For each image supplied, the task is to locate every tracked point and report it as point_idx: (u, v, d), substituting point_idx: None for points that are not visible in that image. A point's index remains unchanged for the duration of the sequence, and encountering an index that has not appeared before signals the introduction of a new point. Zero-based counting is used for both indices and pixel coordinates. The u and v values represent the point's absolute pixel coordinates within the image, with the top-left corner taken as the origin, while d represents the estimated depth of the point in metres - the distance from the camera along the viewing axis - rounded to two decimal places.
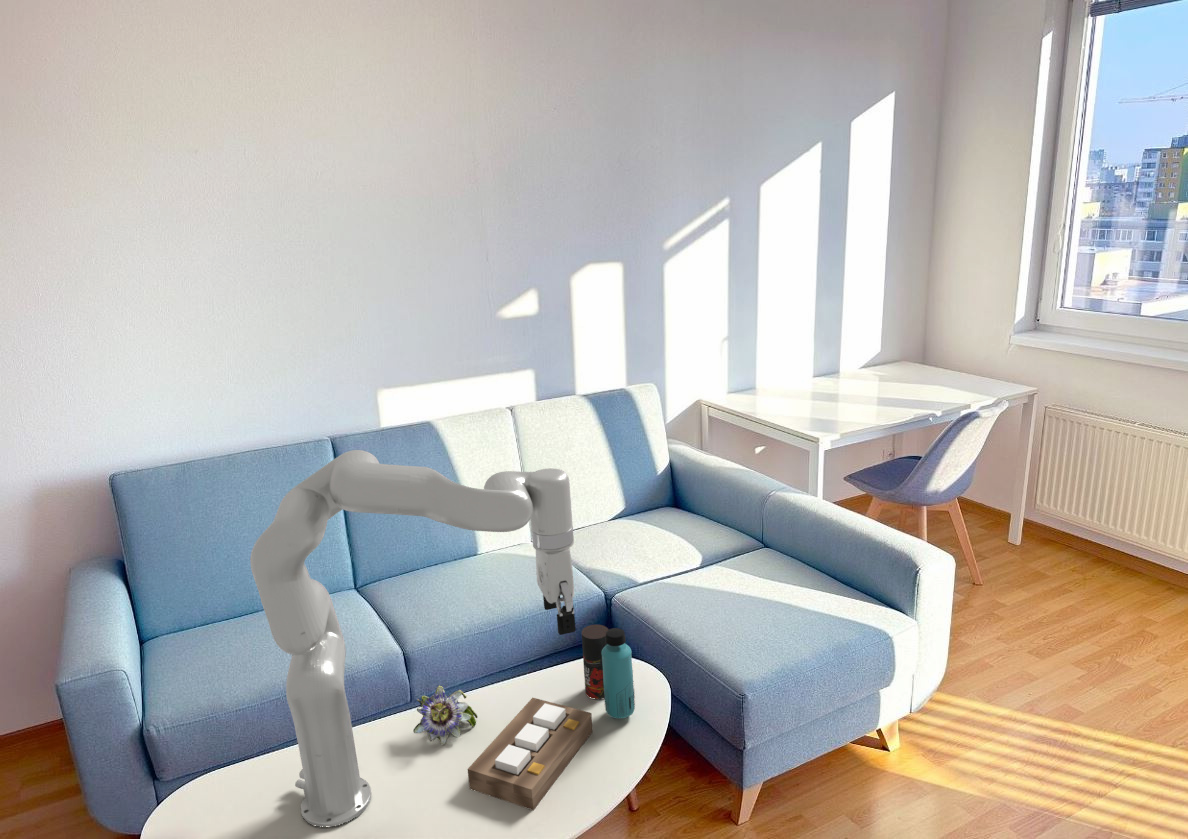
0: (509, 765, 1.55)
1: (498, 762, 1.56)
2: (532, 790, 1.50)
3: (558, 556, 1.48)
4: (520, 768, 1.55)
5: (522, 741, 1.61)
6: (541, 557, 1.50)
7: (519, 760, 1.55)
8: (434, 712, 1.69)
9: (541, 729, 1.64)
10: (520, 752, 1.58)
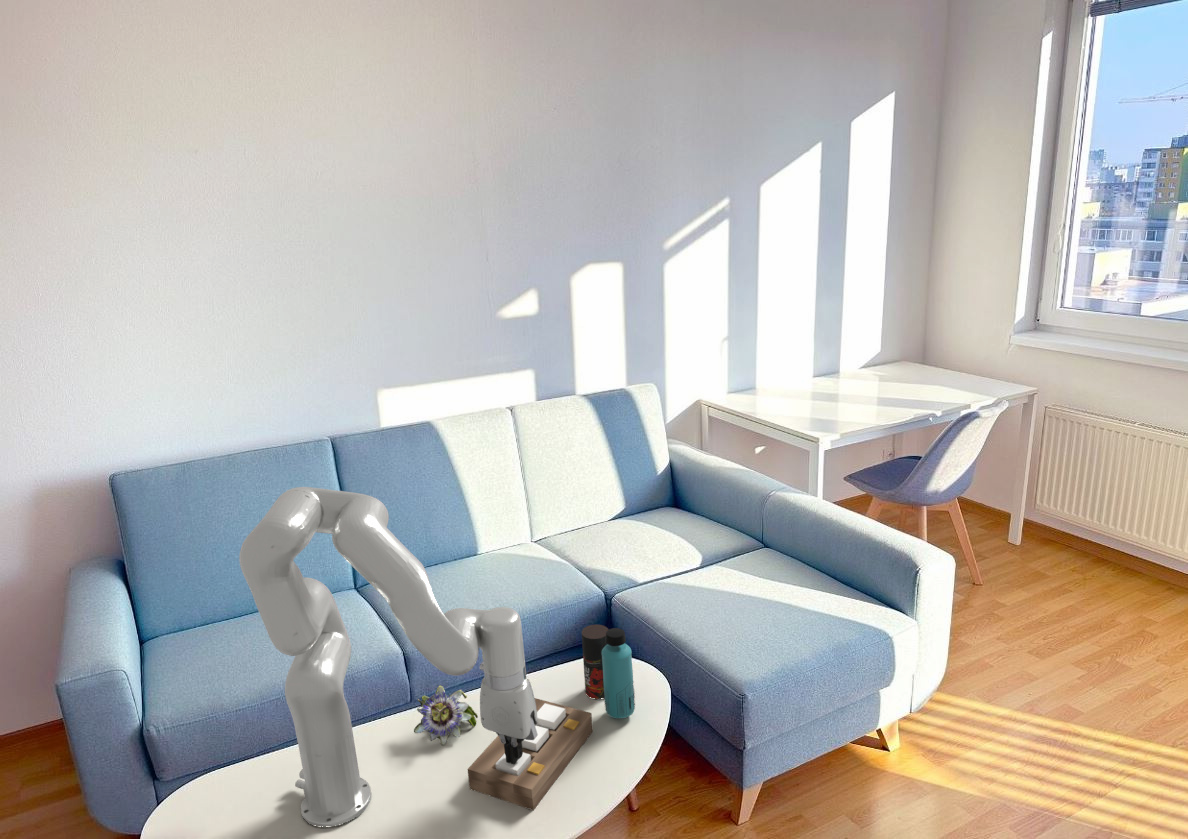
0: (509, 768, 1.55)
1: (498, 766, 1.56)
2: (532, 790, 1.50)
3: (526, 689, 1.50)
4: (521, 772, 1.56)
5: (522, 741, 1.61)
6: (505, 698, 1.50)
7: (519, 764, 1.56)
8: (434, 711, 1.69)
9: (541, 729, 1.64)
10: None
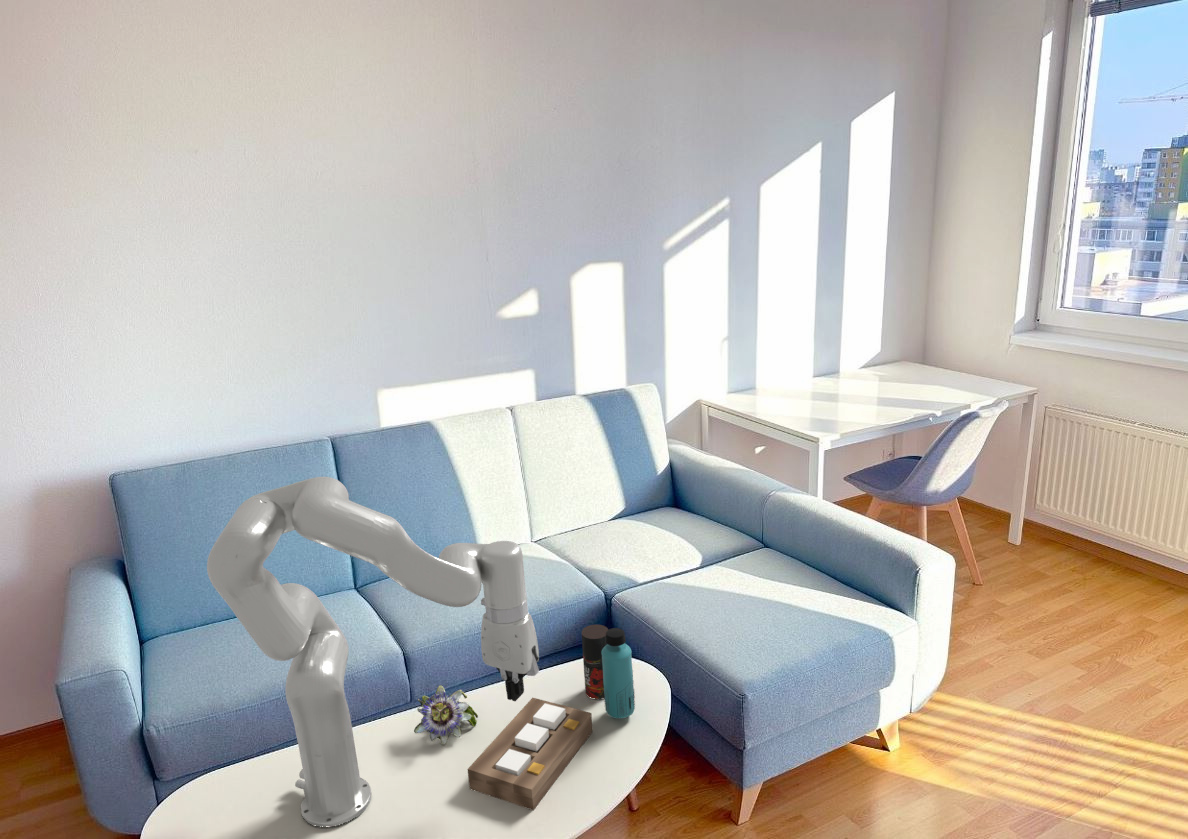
0: (509, 769, 1.55)
1: (498, 767, 1.56)
2: (532, 790, 1.50)
3: (527, 623, 1.49)
4: None
5: (522, 741, 1.61)
6: (506, 632, 1.49)
7: (519, 765, 1.56)
8: (434, 711, 1.69)
9: (541, 729, 1.64)
10: (520, 756, 1.58)
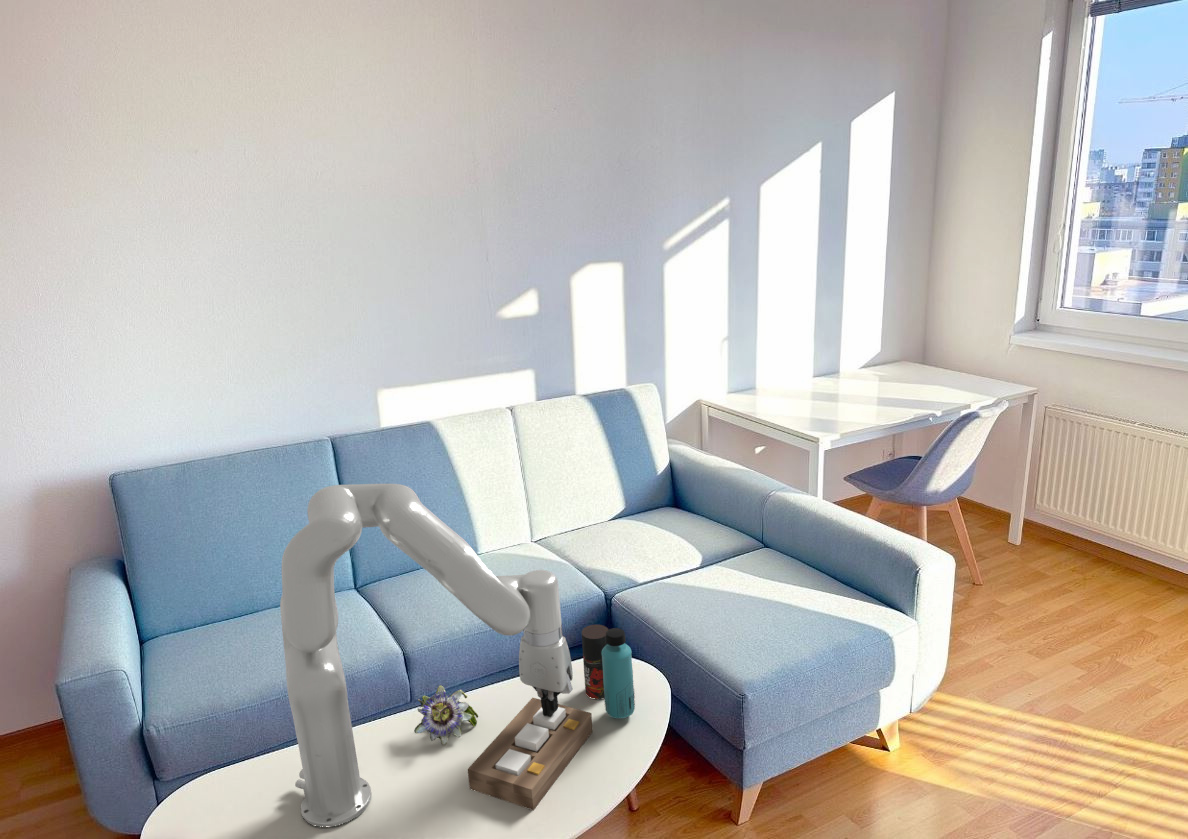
0: (509, 769, 1.55)
1: (498, 767, 1.56)
2: (532, 790, 1.50)
3: (563, 646, 1.62)
4: None
5: (522, 741, 1.61)
6: (543, 654, 1.62)
7: (519, 765, 1.56)
8: (435, 711, 1.69)
9: (541, 729, 1.64)
10: (520, 756, 1.58)
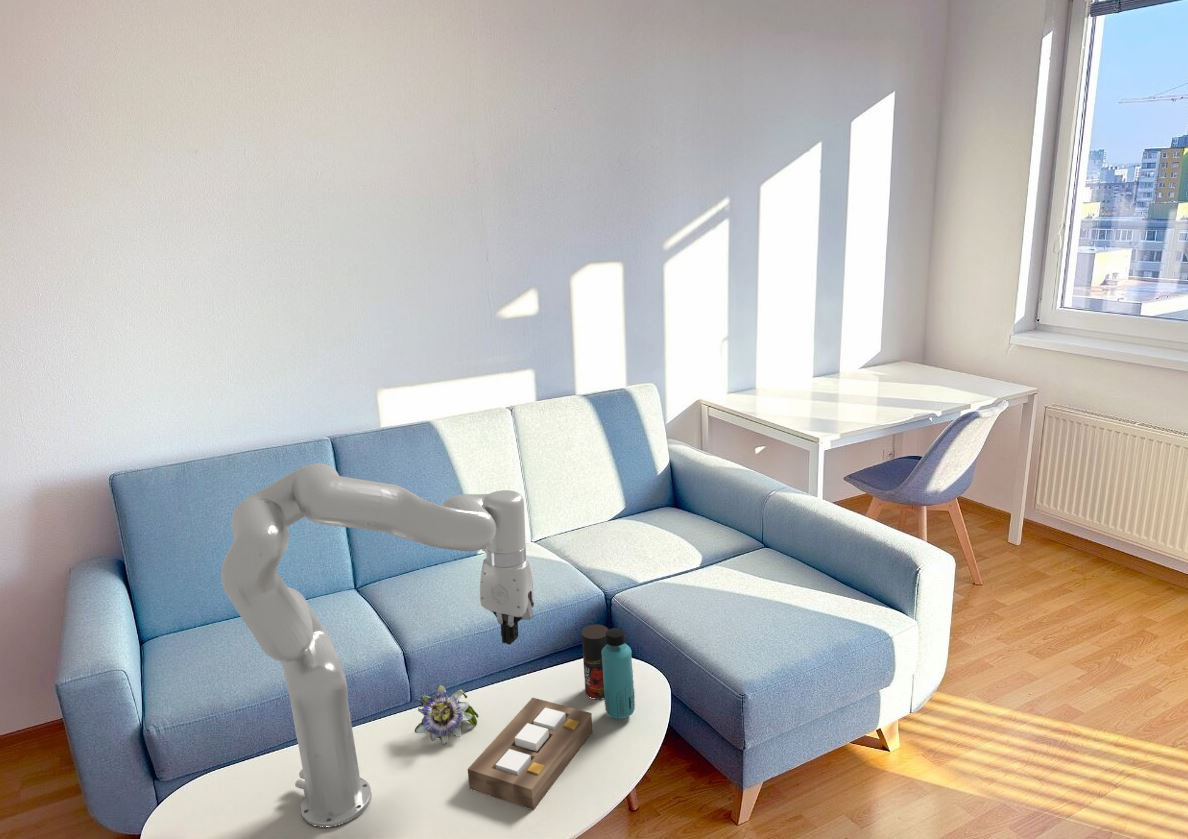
0: (509, 769, 1.55)
1: (498, 767, 1.56)
2: (532, 790, 1.50)
3: (525, 569, 1.58)
4: None
5: (522, 741, 1.61)
6: (505, 576, 1.57)
7: (519, 765, 1.56)
8: (435, 711, 1.69)
9: (541, 729, 1.64)
10: (520, 756, 1.58)
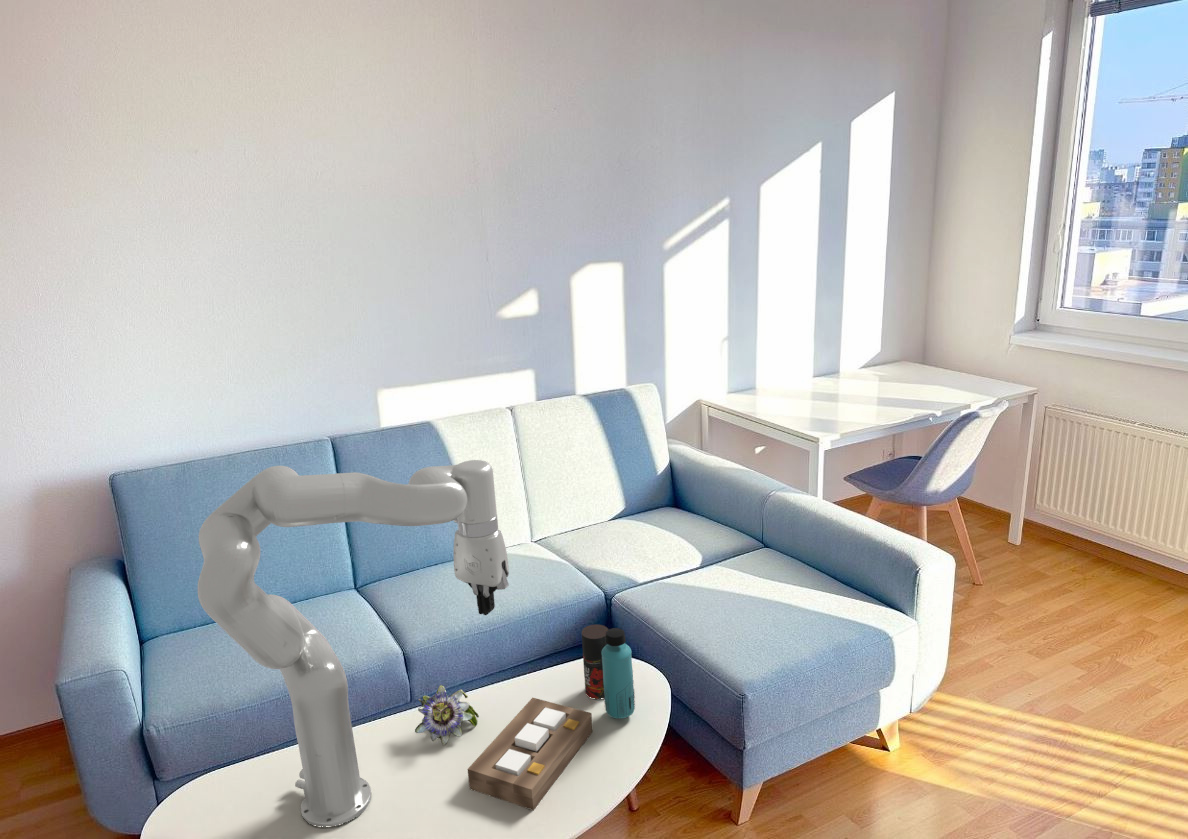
0: (509, 769, 1.55)
1: (498, 767, 1.56)
2: (532, 790, 1.50)
3: (498, 538, 1.57)
4: None
5: (522, 741, 1.61)
6: (477, 546, 1.56)
7: (519, 765, 1.56)
8: (435, 711, 1.69)
9: (541, 729, 1.64)
10: (520, 756, 1.58)
